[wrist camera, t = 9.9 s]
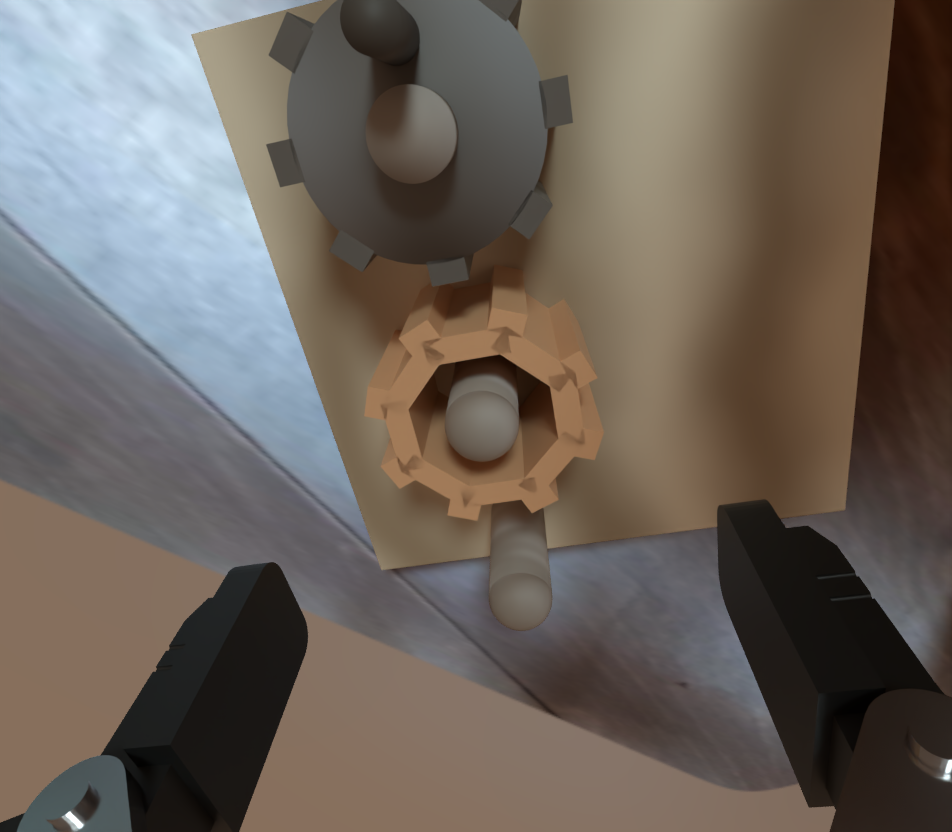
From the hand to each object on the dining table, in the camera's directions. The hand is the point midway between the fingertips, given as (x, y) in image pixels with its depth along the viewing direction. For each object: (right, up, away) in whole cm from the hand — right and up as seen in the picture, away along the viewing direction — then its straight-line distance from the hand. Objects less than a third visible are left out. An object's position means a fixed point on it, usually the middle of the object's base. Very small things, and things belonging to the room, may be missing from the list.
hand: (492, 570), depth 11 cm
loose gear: (0, +5, +9) cm, 10 cm away
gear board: (+3, +7, +10) cm, 13 cm away
